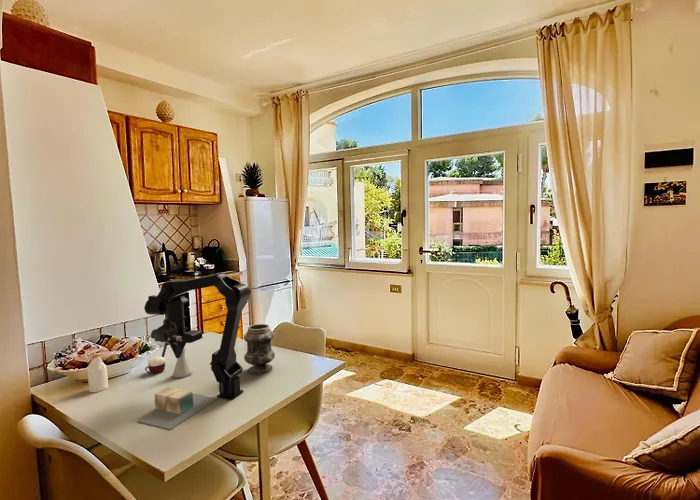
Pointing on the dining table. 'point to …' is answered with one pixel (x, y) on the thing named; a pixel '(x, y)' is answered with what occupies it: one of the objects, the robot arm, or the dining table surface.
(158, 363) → the cocoa
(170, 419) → the slate pad
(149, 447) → the dining table surface
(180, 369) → the flask
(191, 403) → the brown and teal block
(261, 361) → the apothecary jar
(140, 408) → the dining table surface
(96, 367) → the white rounded block
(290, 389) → the dining table surface
